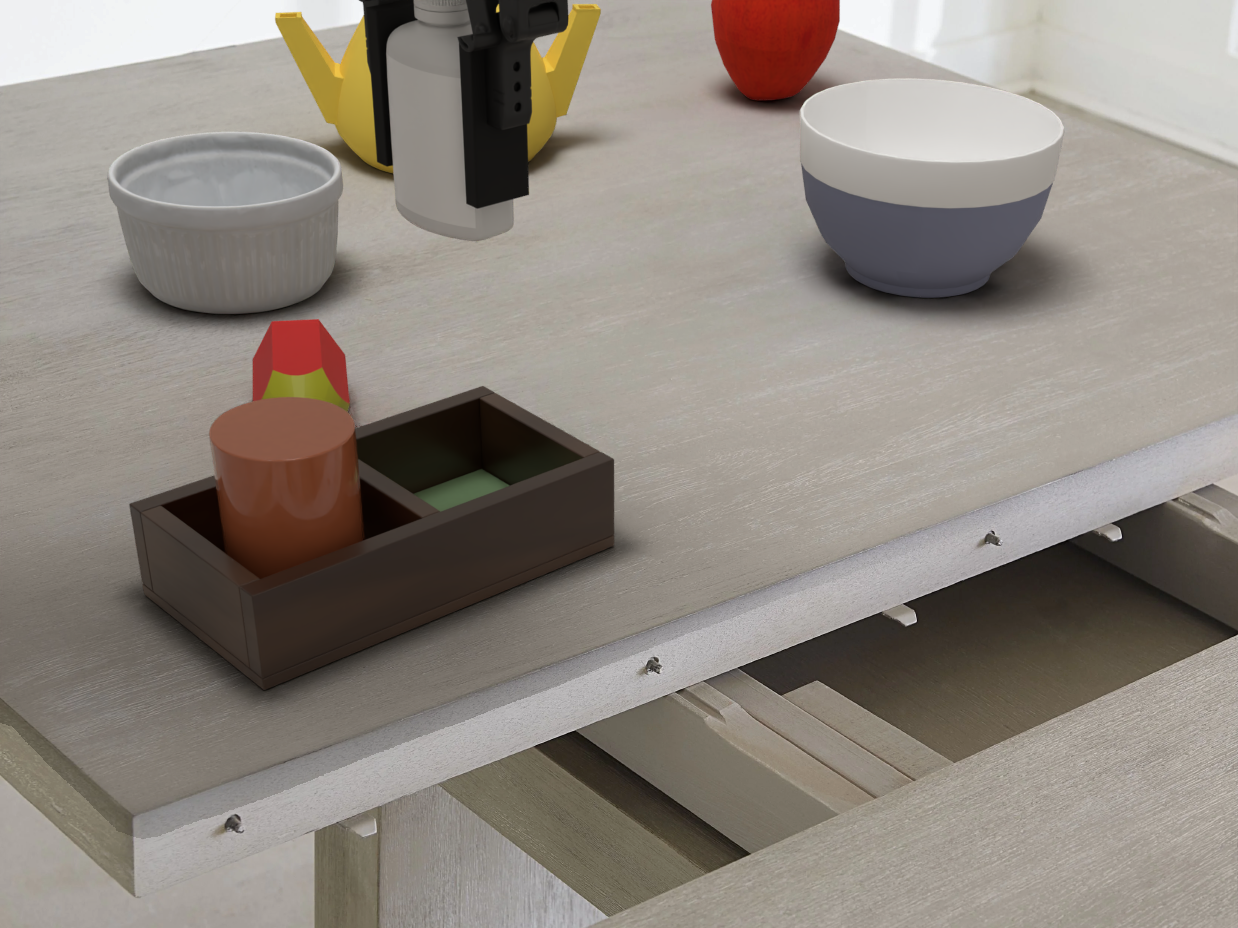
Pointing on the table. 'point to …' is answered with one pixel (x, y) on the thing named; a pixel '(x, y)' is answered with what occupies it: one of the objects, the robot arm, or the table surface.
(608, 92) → the table surface
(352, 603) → the divided wooden box
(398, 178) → the eye dropper bottle
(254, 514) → the glossy orange cylinder
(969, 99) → the bowl
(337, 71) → the teapot
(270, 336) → the pencil
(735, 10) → the apple
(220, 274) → the ramekin
